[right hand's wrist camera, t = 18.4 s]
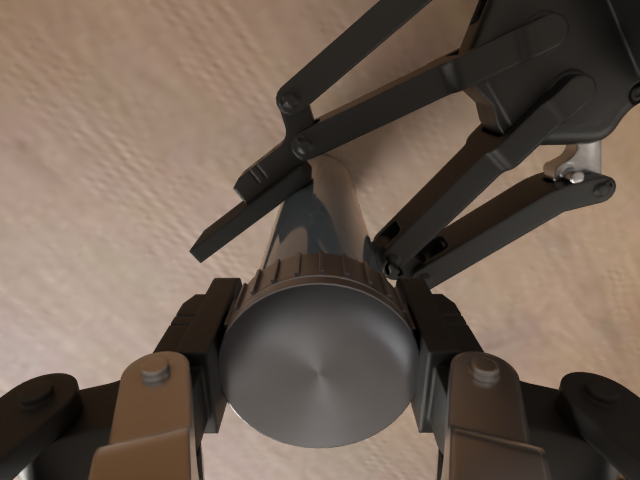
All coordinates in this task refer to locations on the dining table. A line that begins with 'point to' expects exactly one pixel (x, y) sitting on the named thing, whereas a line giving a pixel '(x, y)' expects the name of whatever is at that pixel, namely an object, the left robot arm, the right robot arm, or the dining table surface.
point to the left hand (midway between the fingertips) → (236, 280)
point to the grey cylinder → (321, 218)
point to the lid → (318, 351)
